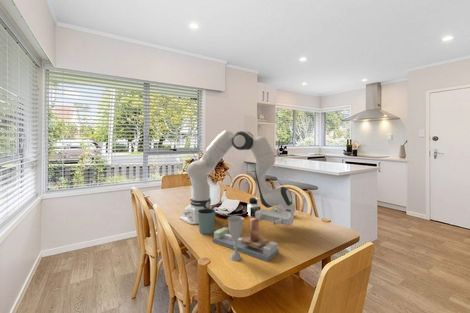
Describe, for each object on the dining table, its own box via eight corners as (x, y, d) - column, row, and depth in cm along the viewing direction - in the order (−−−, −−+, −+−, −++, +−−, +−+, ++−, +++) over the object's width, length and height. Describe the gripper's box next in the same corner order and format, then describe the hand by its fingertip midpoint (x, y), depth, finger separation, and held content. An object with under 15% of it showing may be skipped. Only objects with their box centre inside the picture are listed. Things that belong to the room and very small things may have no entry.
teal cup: (212, 235, 128) (212, 214, 127) (194, 234, 130) (194, 212, 129) (217, 228, 138) (217, 208, 137) (201, 227, 140) (200, 207, 139)
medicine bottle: (250, 217, 157) (250, 200, 156) (247, 214, 164) (247, 197, 163) (260, 216, 159) (260, 199, 158) (256, 213, 166) (256, 196, 165)
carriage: (240, 243, 111) (240, 219, 110) (250, 237, 118) (250, 214, 117) (259, 249, 105) (259, 224, 104) (267, 242, 112) (268, 219, 111)
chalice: (243, 253, 109) (243, 215, 107) (244, 261, 102) (244, 221, 100) (227, 254, 108) (227, 215, 107) (227, 261, 102) (227, 221, 100)
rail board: (212, 241, 121) (212, 232, 120) (225, 235, 129) (225, 226, 128) (267, 261, 102) (267, 250, 101) (278, 252, 110) (278, 242, 109)
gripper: (262, 205, 137) (249, 211, 126) (296, 212, 125) (284, 219, 114) (262, 215, 137) (249, 222, 126) (295, 223, 125) (284, 232, 114)
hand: (266, 221), depth 120 cm, fingers open, 8 cm apart
